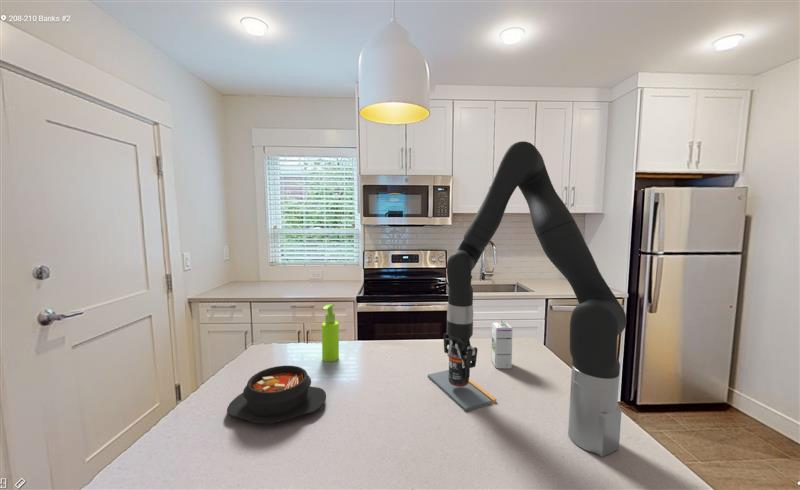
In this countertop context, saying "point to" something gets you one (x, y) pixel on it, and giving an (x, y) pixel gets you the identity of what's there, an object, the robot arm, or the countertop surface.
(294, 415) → the casserole
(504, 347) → the syrup box
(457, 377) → the supplement bottle
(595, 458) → the countertop surface
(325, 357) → the soap dispenser
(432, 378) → the grey board
